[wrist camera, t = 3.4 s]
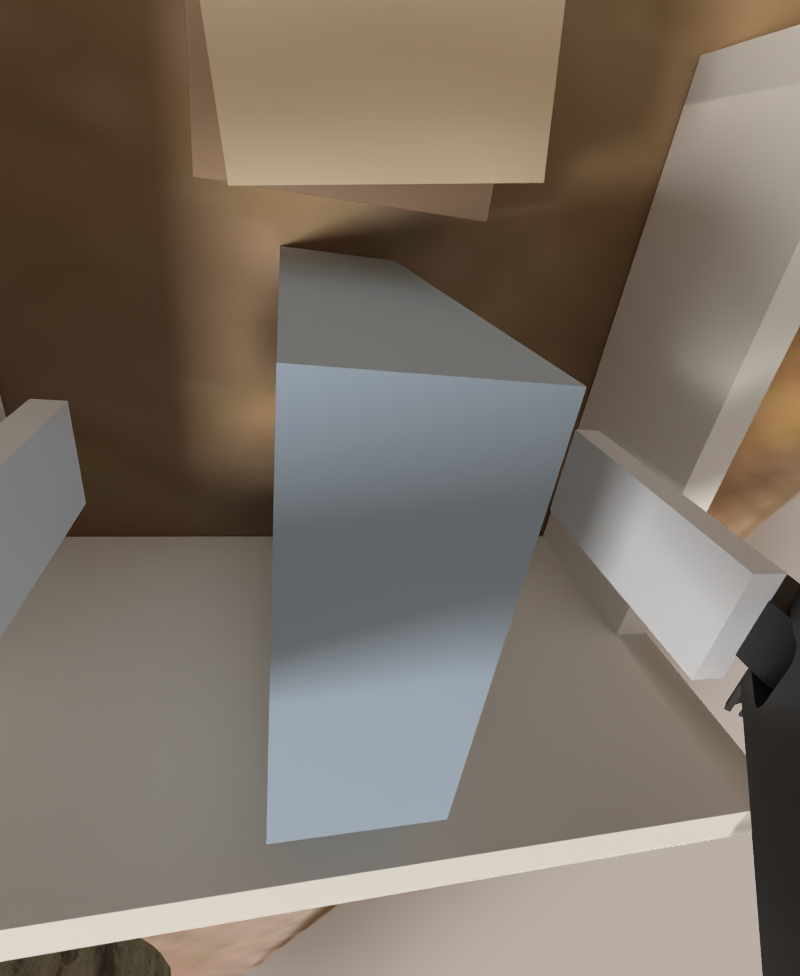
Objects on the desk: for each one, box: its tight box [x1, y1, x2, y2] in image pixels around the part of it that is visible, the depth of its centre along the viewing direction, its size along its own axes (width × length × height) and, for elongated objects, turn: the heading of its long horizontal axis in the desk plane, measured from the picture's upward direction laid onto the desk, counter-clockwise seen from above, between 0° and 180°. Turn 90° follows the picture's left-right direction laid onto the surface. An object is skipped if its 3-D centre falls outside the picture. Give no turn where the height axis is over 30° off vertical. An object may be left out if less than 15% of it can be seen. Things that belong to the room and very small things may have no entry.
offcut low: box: [184, 0, 494, 222], centre depth 12 cm, size 5×7×4 cm
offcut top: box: [200, 0, 566, 186], centre depth 10 cm, size 4×6×3 cm
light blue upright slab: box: [266, 246, 586, 844], centre depth 13 cm, size 9×4×12 cm, turn 172°
